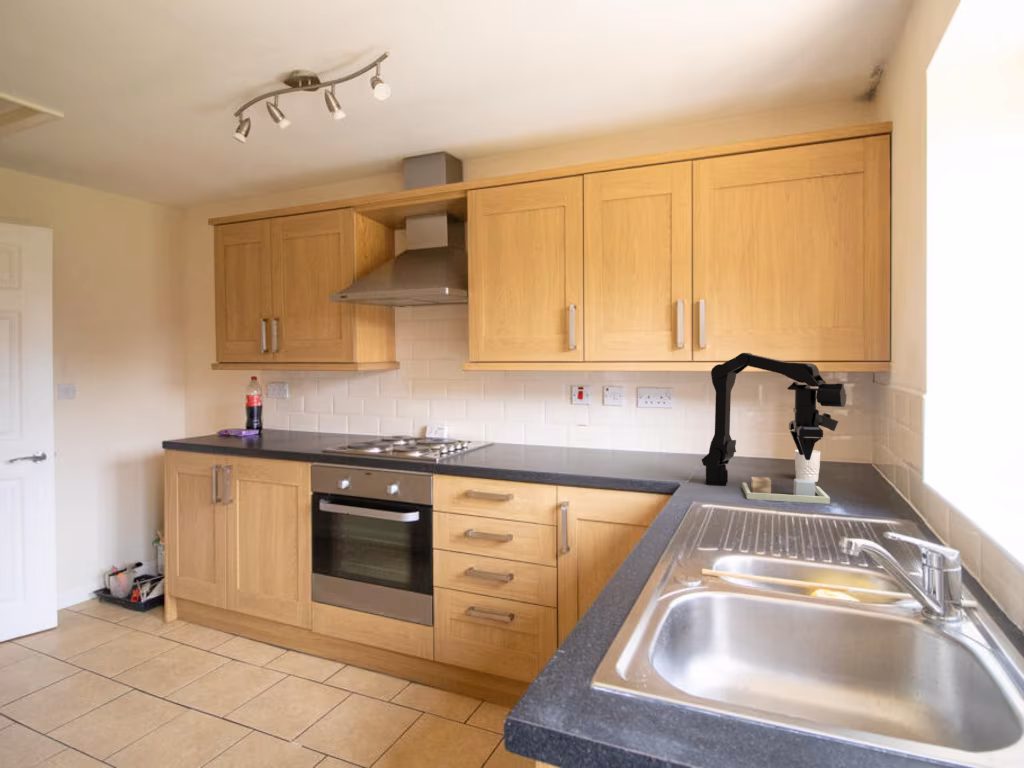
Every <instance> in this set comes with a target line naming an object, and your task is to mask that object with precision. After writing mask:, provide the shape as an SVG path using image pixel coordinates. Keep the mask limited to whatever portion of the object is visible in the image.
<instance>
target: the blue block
mask: <svg viewBox="0 0 1024 768" xmlns="http://www.w3.org/2000/svg"><path fill="white" fill-rule="evenodd" d="M815 486H816V482H814V481H813V480H808V479H796V478H793V495H805V496H816V493H815Z"/></svg>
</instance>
